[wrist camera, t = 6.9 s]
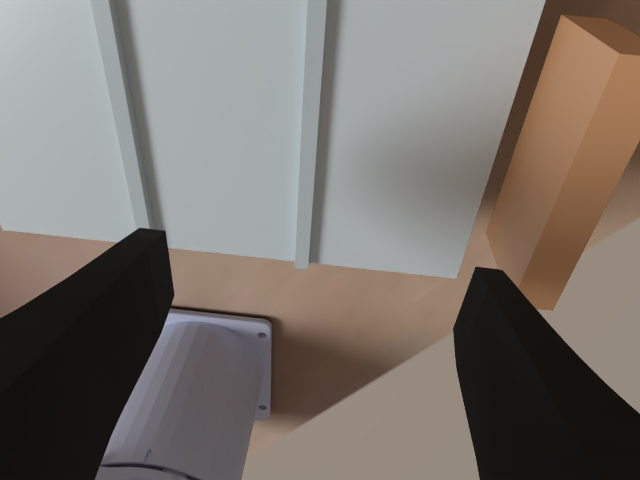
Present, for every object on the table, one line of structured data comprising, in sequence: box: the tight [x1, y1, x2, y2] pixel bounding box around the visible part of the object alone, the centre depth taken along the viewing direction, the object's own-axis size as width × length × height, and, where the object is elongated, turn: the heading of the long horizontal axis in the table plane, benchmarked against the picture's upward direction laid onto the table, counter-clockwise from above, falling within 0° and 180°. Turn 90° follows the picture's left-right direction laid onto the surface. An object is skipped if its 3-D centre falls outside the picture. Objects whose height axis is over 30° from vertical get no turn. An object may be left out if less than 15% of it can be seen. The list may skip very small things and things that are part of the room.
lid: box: [0, 0, 640, 310], centre depth 13 cm, size 11×19×4 cm, turn 86°
